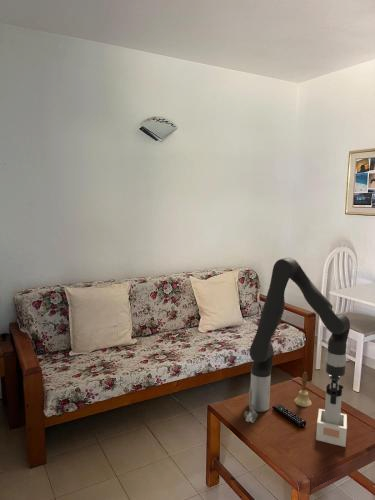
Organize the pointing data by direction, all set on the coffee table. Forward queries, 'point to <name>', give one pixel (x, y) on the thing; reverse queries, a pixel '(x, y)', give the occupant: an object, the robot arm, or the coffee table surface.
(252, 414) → the house of cards
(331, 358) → the robot arm
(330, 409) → the travel mug
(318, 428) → the socket
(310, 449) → the coffee table surface
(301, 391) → the hand bell
